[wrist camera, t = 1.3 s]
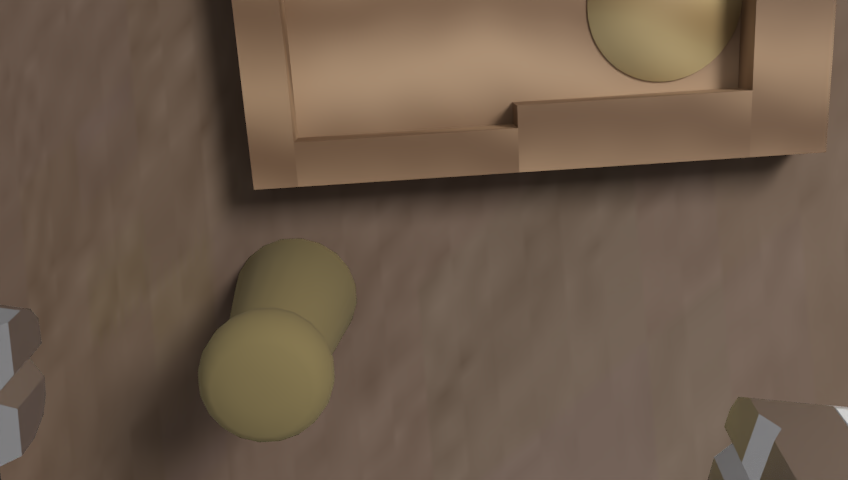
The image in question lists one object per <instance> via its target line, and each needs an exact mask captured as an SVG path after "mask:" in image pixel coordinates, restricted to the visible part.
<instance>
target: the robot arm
mask: <svg viewBox="0 0 848 480" xmlns="http://www.w3.org/2000/svg"><path fill="white" fill-rule="evenodd" d="M41 343H42V342H41V334H40V326H39V319H38V317H37V316H36V315H35V314H34V313H33V312H32V310H31V309H27V308H20V307H13V306H6V305H0V466H2V465H4V464H6V463H8V462H10V461H12V460H14V459H16V458H18V457H20V456H22V455H23V454H24V452H25V451H26V449H27V448H28V447H29V445H30V444H31V442H32V441H33V440H34V438H35V436H36V433H37V430H38V428H39V425H40V422H41V420H42V417H43V414H44V405H45V397H46V391H45V377H44V375H43V374H42V373H41V371H40V370H39V369H38V368H37V366H36V365H35V364H34V363H33V361H32V360H31V359H30V357H31V356H32V355H33V353H34V352H35V351H36V350H37V348H38V347H39V346H40V345H41ZM724 427H725V429H726V431H727V433H728V435H729V437H730V439H731V441H732V444H731V445H730V446H728V447H727V448H726V449H724V450H723V451H722V452H720V453H719V454H718V455H717V456H715V457H714V460H713V463H712V467H711V470H710V474H709V477H708V480H848V407H842V406H830V405H818V404H807V403H797V402H787V401H776V400H766V399H756V398H744V397H738V398H737V400H736V401H735V403H734V404H733V406H732V407H731V409H730V411H729V414H728V417H727V420H726V423H725V426H724ZM0 480H1V475H0Z"/></svg>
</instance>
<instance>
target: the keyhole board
mask: <svg viewBox="0 0 848 480" xmlns="http://www.w3.org/2000/svg"><path fill="white" fill-rule="evenodd" d="M231 1H232V9H233V18H234V26H235V35H236V43H237V52H238V60H239V69H240V77H241V86H242V94H243V103H244V111H245V120H246V128H247V136H248V145H249V153H250V162H251V170H252V179H253V187H254V190H259V189H274V188H289V187H305V186H320V185H335V184H350V183H365V182H381V181H396V180H411V179H426V178H442V177H457V176H472V175H487V174H502V173H518V172H533V171H548V170H563V169H578V168H594V167H609V166H624V165H639V164H654V163H670V162H685V161H700V160H715V159H731V158H746V157H761V156H776V155H791V154H807V153H822V152H826V144H827V129H828V115H829V100H830V86H831V72H832V57H833V43H834V29H835V14H836V0H231Z"/></svg>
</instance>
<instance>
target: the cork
mask: <svg viewBox="0 0 848 480" xmlns="http://www.w3.org/2000/svg"><path fill="white" fill-rule="evenodd" d="M356 303H357V302H356V286H355V283H354V280H353V278H352V275H351V273H350V271H349V268H348V267H347V266H346V265H345V263H344V262H343V261H342V260H341V259H340V258H339V256H338V255H337V254H336V253H334V252H333V251H331V250H330V249H328V248H326V247H325V246H323V245H321V244H320V243H316V242H312V241H308V240H305V239H281V240H278V241H276V242H273V243H270V244H268V245H265V246H263V247H262V248H260V249H259V250H258V251H257V252H255V253H254V254H253V255H252V256H250V257H249V258H248V260H247V261H246V263H245V265H244V266H243V268H242V269H241V271H240V272H239V276H238V280H237V284H236V289H235V293H234V299H233V304H232V309H231V314H230V319H229V320H228V321H227V322H226V323H224V324H223V325H222V326H221V327H219V328H218V329H217V330H216V331H215V333H214V334H213V336H212V338H211V339H210V341H209V342H208V344H207V345H206V347H205V348H204V350H203V352H202V355H201V360H200V364H199V369H198V382H199V390H200V397H201V399H202V401H203V403H204V405H205V407H206V409H207V411H208V413H209V414H210V415H211V416H212V417H213V418H214V419H215V421H216V422H217V423H218V424H219V425H220V426H221V427H222V428H224V429H226V430H227V431H229V432H231V433H233V434H235V435H236V436H238V437H240V438H244V439H248V440H253V441H257V442H272V441H281V440H284V439H287V438H290V437H293V436H296V435H298V434H300V433H301V432H302V431H304V430H305V429H306V428H308V427H309V426H310V425H312V424H313V423H314V422H315V421H316V420H317V418H318V417H319V416H320V414H321V413H322V411H323V410H324V408H325V407H326V405H327V404H328V403H329V399H330V396H331V392H332V388H333V385H334V378H335V376H334V363H333V357H332V354H333V352H334V351H335V349H336V347H337V345H338V344H339V342H340V340H341V338H342V336H343V335H344V333H345V331H346V329H347V328H348V326H349V324H350V322H351V321H352V318H353V314H354V310H355V307H356Z"/></svg>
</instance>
